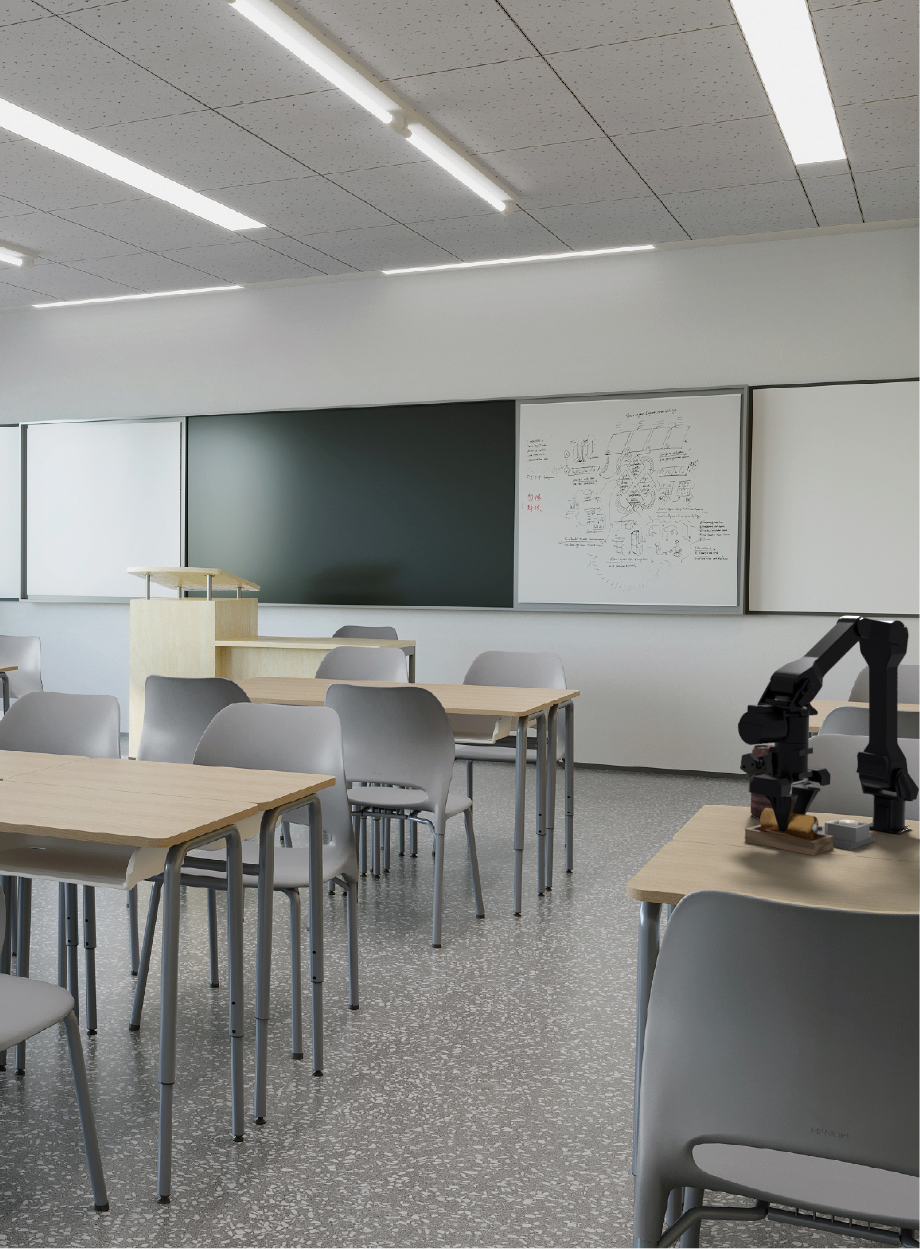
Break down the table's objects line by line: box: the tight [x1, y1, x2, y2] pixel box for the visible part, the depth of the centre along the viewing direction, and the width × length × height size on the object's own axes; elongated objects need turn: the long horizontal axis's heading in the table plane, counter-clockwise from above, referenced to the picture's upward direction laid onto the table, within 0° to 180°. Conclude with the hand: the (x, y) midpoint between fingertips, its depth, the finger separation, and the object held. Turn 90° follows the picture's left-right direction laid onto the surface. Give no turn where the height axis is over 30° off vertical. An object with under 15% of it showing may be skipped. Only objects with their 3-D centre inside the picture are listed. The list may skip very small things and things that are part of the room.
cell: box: [759, 808, 819, 839], centre depth 182 cm, size 4×10×4 cm, turn 44°
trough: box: [744, 824, 834, 856], centre depth 182 cm, size 7×13×2 cm, turn 44°
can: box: [750, 744, 774, 819], centre depth 205 cm, size 6×6×14 cm
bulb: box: [838, 819, 859, 827], centre depth 184 cm, size 3×3×2 cm
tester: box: [817, 818, 875, 851], centre depth 189 cm, size 9×18×4 cm, turn 44°
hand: (789, 829), depth 182 cm, fingers open, 4 cm apart
